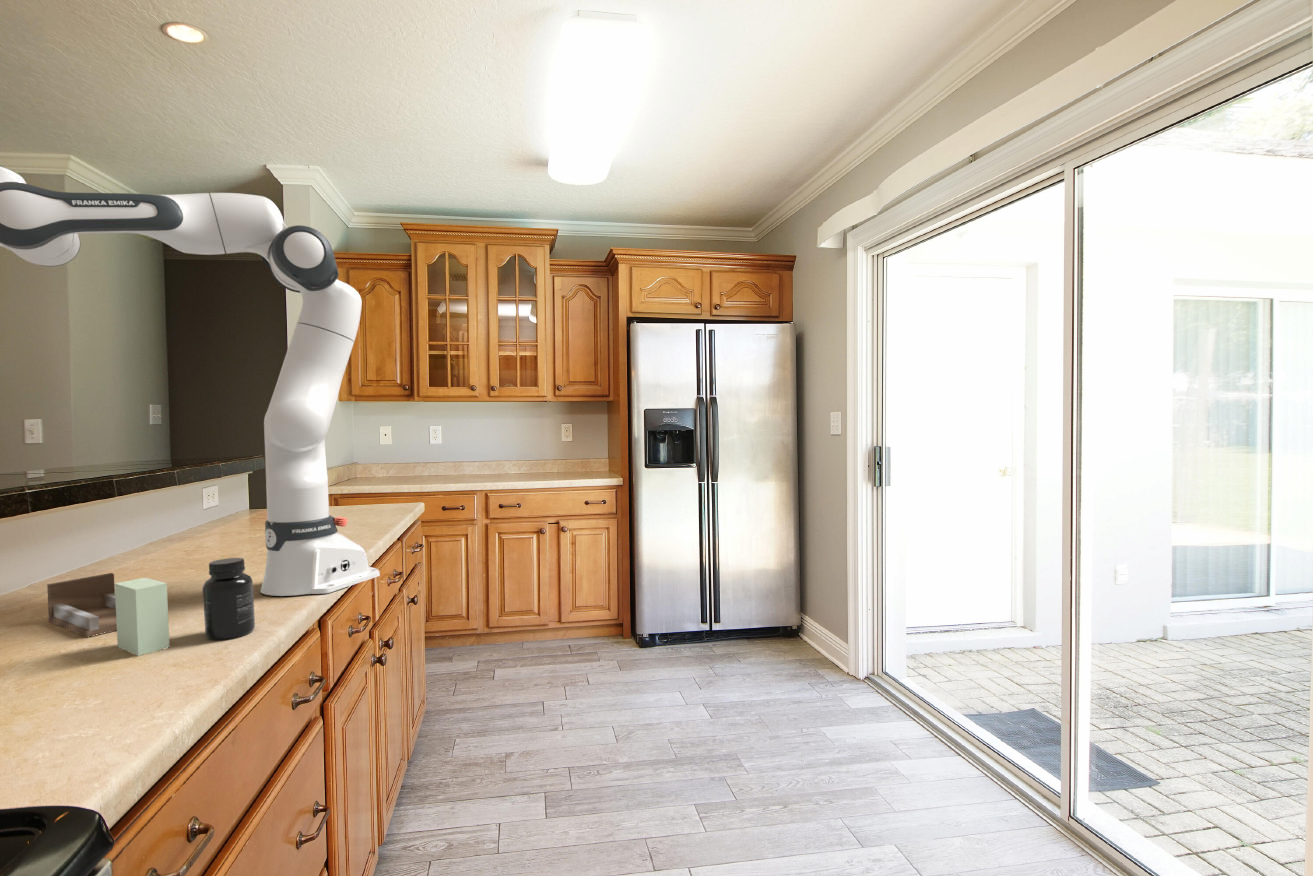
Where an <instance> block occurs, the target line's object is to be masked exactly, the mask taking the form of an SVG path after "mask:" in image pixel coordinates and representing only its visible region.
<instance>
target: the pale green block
mask: <svg viewBox="0 0 1313 876" xmlns="http://www.w3.org/2000/svg"><path fill="white" fill-rule="evenodd" d="M167 584H168V583H167V582H163V581H159V580H157V579H151V578H148V577H141V578H136V579H135V578H134V579H132V580H126V581H120V582H114V587H115V600H116V621H117V631H116V639H117V641H116V642H117V648H118V647H119V648H118V649H120V648H121V649H120V650H122V649H124V650H127V651H129V652H131V653H130V654H132V653H134V654H136V655H135V656H137V655H138V656H137V657H141V656H140V655H142V654H145V655H147V654H146V653H149V654H151V653H150V652H152V653H154V652H153V651H156V650H160V649H163V650H165V649H164V648H167V647H169V648H170V633H169V632H170V628H169V607H168V604H169V603H168V585H167ZM167 649H168V648H167ZM124 650H123V651H124ZM127 651H126V652H127ZM160 651H161V650H160ZM129 652H128V653H129ZM156 652H157V651H156ZM134 654H133V655H134ZM142 656H143V655H142Z"/></svg>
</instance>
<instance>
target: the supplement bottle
mask: <svg viewBox="0 0 1313 876" xmlns="http://www.w3.org/2000/svg"><path fill="white" fill-rule="evenodd" d="M208 570H209V571H208V575H210V578H208V579H207V580H206V581H205V582H204V583H203V584H202V597H203V598H202V599H203V600H202V602H203V615H204V616H203V618H204V620H203V621H204V631H205V634H204V635H205V636H206V638H208V639H209V640H212V641H224V640H230V639H232V640H233V639H235V638H236V639H237V638H239V637H243V636H246V635H249V634H250V633H252V632H253V631H254V629H255V628H256V625H255V622H256V620H255V619H256V616H255V601H254V599H255V598H254V586H253V585H254V584H253V579H252V577H251V575H249V574H247V573H245V572H244V571H245V570H246V567H245V559H244V558H243V557H229V558H222V559H221V558H220V559H215V560H213V561H211V562H209V563H208Z"/></svg>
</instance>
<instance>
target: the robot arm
mask: <svg viewBox="0 0 1313 876" xmlns="http://www.w3.org/2000/svg"><path fill="white" fill-rule="evenodd" d="M125 233H126V234H137V235H141V236H146V237H150V238H152V239H155V240H158V241H160V242H162V243H164V244H165V245H168V246H170V247H171V248H173V249H175V250H176V251H179V252H182V253H184V254H191V255H204V256H205V255H207V256H210V255H225V254H238V253H251V254H252V253H253V254H257V255H260V258H261V259H262V261H263V262H264V264H265V266H266V267H267V269H268V271H270V274H271V275H272V277H273V279H274V280H275V281H276V282H277V283H278V284H280V286H281V287H283V288H284V289H286V290H289V291H290V292H294V293H299V294H300V295H301V298H302V305H301V310H300V313H299V316H298V319H297V320H296V324H295V327H294V330H293V333H292V336H291V339H290V342H289V344H288V347H287V351H286V354H285V356H284V360H283V363H282V366H281V369H280V372H279V375H278V379H277V381H276V385H275V387H274V390H273V393H272V396H271V399H270V401H269V405H268V408H267V410H266V413H265V415H264V418H263V431H264V432H263V433H264V434H263V435H264V459H265V481H266V483H265V488H266V515H267V516H266V517H267V519H266V521H265V522H264V523H265V524H264V534H265V535H264V536H265V537H264V538H265V539H264V540H265V545H266V547H265V548H266V549H267V550H266V551H267V552H266V562H265V569H264V575H263V580H262V584H261V586H260V591H259V592H260V593H262V595H267V596H274V597H275V596H277V597H285V596H289V597H290V596H301V595H311V594H312V595H317V594H318V595H321V594H329V593H333V592H336V591H338V590H343V589H344V588H347V587H350V586H354V585H356V584H359V583H362V582H365V581H368V580H372V579H374V578H377V577H380V575H381V574H380V570H379V569H378V568H375V567H372V566H369V561H368V555H367V553H366V551H365V549H364V548H363V547H362V545H359V544H358V543H356V542H354V541H352V540H351V539H349V538H348V537H346V536H345V535H343V534H342V533H340V532H338V528H337V527H342V528H344V527H346V526H347V524H348V523H349V520H348V518H347V517H346V516H345V517H344V516H343V517H342V516H337V517H334V516H332V515H330V507H329V506H330V503H329V476H328V475H329V474H328V469H327V468H328V467H327V454H326V442H325V441H326V439H325V438H326V436H327V434H328V432H329V429H330V424H331V423H332V422H331V421H332V418H333V415H334V412H335V408H336V403H337V401H338V396H339V394H340V389H341V386H342V381H343V378H344V375H345V372H346V369H347V366H348V363H349V359H350V356H351V354H352V349H353V347H354V344H355V341H356V338H357V333H358V330H359V326H360V322H361V314H362V306H363V305H362V303H363V299H362V297H361V295H360V293H359V292H358V291H357V290H356V288H354V287H353V286H351V285H350V284H348V283H346V282H344V281H341V280H339V279H338V278H339V274H340V273H339V270H338V264H337V262H336V256H335V252H334V249H333V247H332V245H331V243H330V242H329V240H328V238H326V236H325V235H324V234H323V233H322V232H320V231H319V230H317V229H315V228H313V227H310V226H308V225H300V224H299V225H292V226H287V225H286V224H285V221H284V217H283V215H282V213H281V211H280V209H279V207H278V206H277V205H276V204H275V202H273V201H272V200H271V199H269V198H268V197H266V196H264V195H256V194H247V193H238V192H237V193H236V192H210V193H209V192H198V193H180V194H177V193H176V194H147V193H144V194H143V193H125V192H124V193H122V192H121V193H118V192H116V193H115V192H112V193H111V192H70V191H68V192H65V191H55V190H52V189H51V190H50V189H46V188H42V187H40V186H36V185H32V184H30V183H27V182H26V181H25V179H24V177H22V176H21V175H20V174H19V173H17V172H15V170H12V169H9V168H7V167H5V166H3V165H0V247H2V248H5V249H6V250H9V251H11V252H12V253H14V254H15V255H17V257H19V258H21V260H22V259H23V260H24V261H26V262H28V263H31V264H34V265H38V266H41V267H42V266H43V267H50V268H51V267H58V266H64V265H66V264H69V263H70V262H71V261H72V260H74V259H75V258H76V257H77V255H78V253H80V249H81V239H80V236H79V234H125Z"/></svg>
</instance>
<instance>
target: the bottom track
mask: <svg viewBox="0 0 1313 876" xmlns="http://www.w3.org/2000/svg"><path fill="white" fill-rule="evenodd" d="M46 588H47V590H46V591H47V607H48V611H47V612H48V622H49V623H51V622H52V624H54V625H56V626H58V625H60V626H59V627H61V626H62V627H61V628H63V627H65V628H64V629H66V628H67V629H66V630H68V629H70V630H72V631H71V632H73V631H74V632H73V633H75V632H77V633H76V634H78V633H79V634H78V635H80V634H82V635H81V636H83V635H84V636H83V637H85V636H87V637H88V636H93V635H96V634H100V633H104V632H109V633H111V632H110V631H113V632H115V631H114V630H117V621H116V600H115V574H114V573H113V572H109V573H104V574H98V575H93V576H87V577H81V578H75V579H70V580H66V581H65V580H63V581H59V582H54V583H47V584H46ZM70 630H69V631H70ZM87 637H86V638H87ZM93 637H94V636H93Z"/></svg>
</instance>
